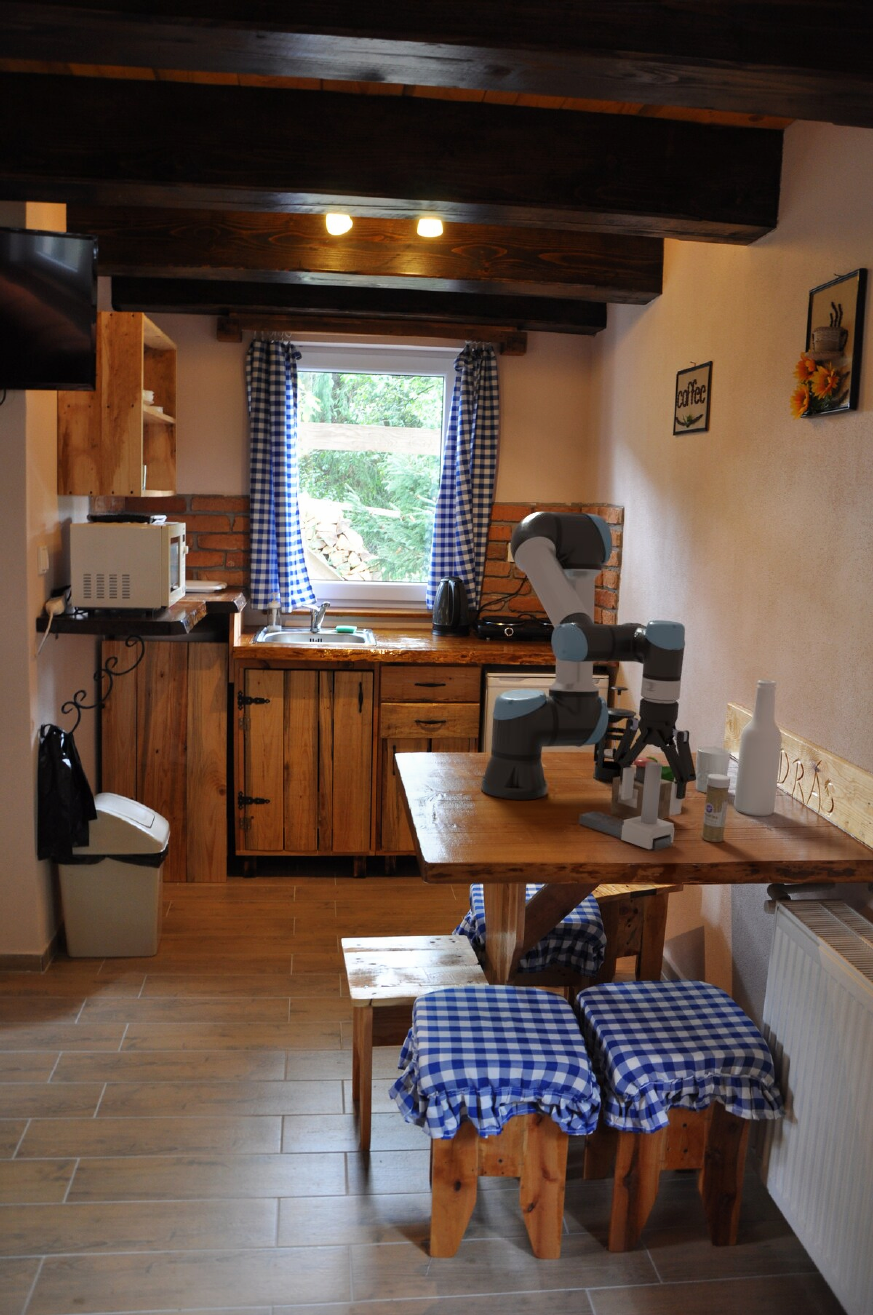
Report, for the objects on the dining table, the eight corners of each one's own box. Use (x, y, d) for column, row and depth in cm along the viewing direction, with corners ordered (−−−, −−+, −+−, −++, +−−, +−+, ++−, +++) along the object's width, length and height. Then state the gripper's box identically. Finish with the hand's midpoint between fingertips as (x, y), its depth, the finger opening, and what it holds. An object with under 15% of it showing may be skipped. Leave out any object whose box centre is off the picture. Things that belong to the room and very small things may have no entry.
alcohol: (730, 804, 248) (742, 676, 244) (768, 807, 248) (781, 679, 243) (738, 815, 239) (751, 683, 235) (778, 818, 239) (792, 685, 234)
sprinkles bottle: (697, 839, 221) (703, 775, 219) (707, 834, 225) (713, 772, 222) (718, 844, 218) (724, 780, 216) (727, 839, 222) (734, 776, 220)
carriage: (621, 839, 217) (627, 762, 214) (645, 833, 222) (652, 757, 219) (648, 849, 211) (656, 770, 209) (673, 842, 217) (680, 765, 214)
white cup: (723, 787, 263) (727, 747, 261) (729, 796, 255) (733, 755, 254) (691, 784, 264) (694, 745, 262) (695, 793, 256) (699, 752, 254)
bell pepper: (679, 801, 249) (683, 759, 247) (660, 807, 243) (664, 764, 241) (648, 792, 254) (651, 751, 253) (629, 798, 248) (632, 756, 247)
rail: (578, 823, 227) (579, 814, 227) (594, 820, 230) (595, 811, 230) (655, 850, 212) (656, 841, 212) (670, 846, 215) (671, 836, 215)
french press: (641, 782, 263) (649, 690, 260) (612, 786, 258) (620, 692, 255) (608, 770, 273) (616, 681, 269) (580, 773, 268) (587, 683, 264)
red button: (626, 794, 235) (629, 759, 234) (639, 792, 238) (642, 756, 237) (642, 799, 232) (646, 763, 230) (655, 796, 235) (658, 761, 233)
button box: (609, 813, 236) (612, 777, 234) (636, 806, 242) (639, 772, 240) (642, 824, 229) (645, 787, 228) (668, 817, 235) (671, 782, 234)
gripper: (601, 690, 218) (592, 794, 222) (698, 712, 201) (688, 824, 204) (624, 687, 223) (616, 789, 227) (721, 708, 206) (711, 818, 209)
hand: (650, 806), depth 215 cm, fingers open, 11 cm apart
